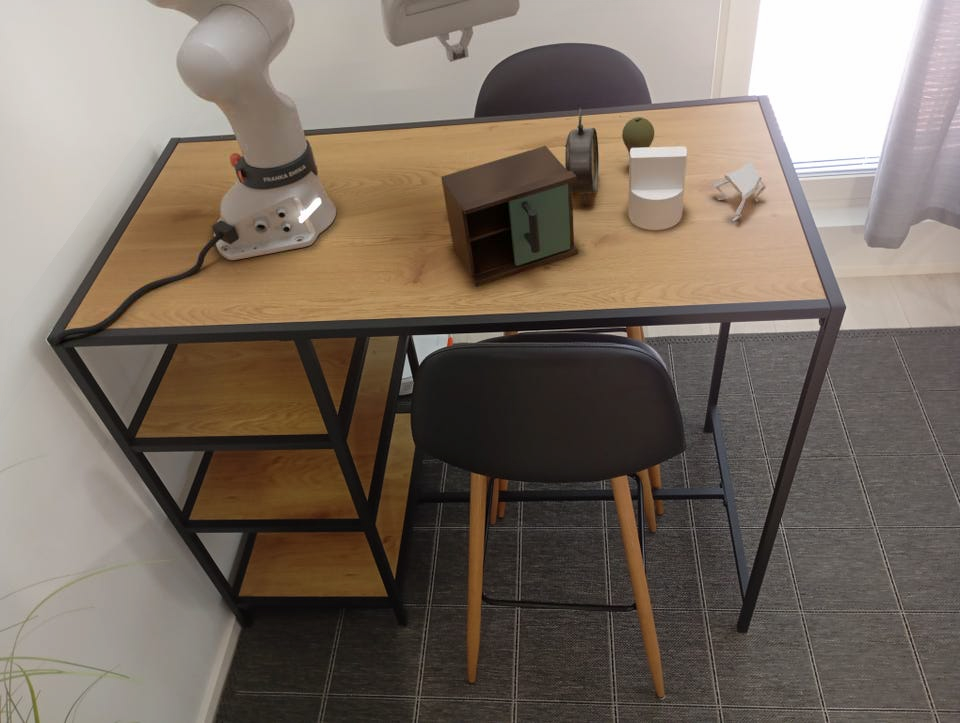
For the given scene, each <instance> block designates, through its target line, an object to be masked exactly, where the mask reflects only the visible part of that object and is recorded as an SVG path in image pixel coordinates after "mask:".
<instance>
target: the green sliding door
mask: <svg viewBox="0 0 960 723" xmlns="http://www.w3.org/2000/svg"><path fill="white" fill-rule="evenodd" d="M508 204H509V214H510V223H511V233H512V243H513V252H514V262H515V265H516V266H518V265H521V264H524V263H528V262H531V261H534V260H537V259H540V258H543V257H546V256H549V255H552V254H556V253H559V252H562V251H565V250H568V249H570V235H569V209H568V184H564V185H560V186H557V187H554V188H551V189H547V190H544V191H541V192H538V193H534V194H531V195H528V196H524V197H521V198H518V199H515V200H511V201H508Z"/></svg>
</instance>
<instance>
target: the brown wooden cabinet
mask: <svg viewBox="0 0 960 723" xmlns="http://www.w3.org/2000/svg"><path fill="white" fill-rule="evenodd" d="M440 178H441V185H442V190H443V196H444V202H445V208H446V214H447V219H448V225H449V232H450V237H451V238H450V239H451V243H452V248H453V249H454V252H455V253H456V255H457V257H458V258H459V260H460V262H461V263H462V265H463V267H464V269H465V270H466V272H467V274H468V275H469V277H470V279H471V281H472V282H473V284H474V286H475V287H479V286H481V285H484V284H488V283H491V282H495V281H497V280H500V279H503V278H506V277H509V276H512V275H516V274H518V273H519V274H520V273H521V272H525V271H528V270H531V269H534V268H537V267H540V266H541V267H542V266H544V265H547V264H550V263H553V262H557V261H559V260H562V259H565V258H568V257H572V256H575V255H577V254H579V249H578V247H577V246H576V244H575V234H574V209H573V208H574V207H573V206H574V205H573V204H574V202H573V192H572V182H574V181H576V175H575V174H574V173H573V172H572V171H569V172H568V171H567V169H566V166H564V165H563V163H562V162H561V161H560V160H559V159H558V158H557V157H556V155H555V154H554V153H553V152H552V151H551V150H550V149H549V147H548V146H547V145H543V146H539V147H537V148H533V149H530V150H526V151H523V152H520V153H516V154H513V155H509V156H506V157H504V158H499V159H496V160H493V161H489V162H486V163H483V164H478V165H476V166H473V167H468V168H466V169H461V170H458V171H455V172H452V173H449V174H445V175H442V176H440ZM564 184H568V209H569V235H570V249H568V250H565V251H562V252H559V253H556V254H552V255H549V256H546V257H543V258H540V259H537V260H534V261H531V262H528V263H524V264H521V265H518V266H516V265H515V262H514V252H513V243H512V233H511V223H510V214H509V204H508V201H511V200H515V199H518V198H521V197H524V196H528V195H531V194H534V193H538V192H541V191H544V190H547V189H551V188H554V187H557V186H560V185H564Z"/></svg>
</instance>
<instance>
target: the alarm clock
mask: <svg viewBox="0 0 960 723" xmlns="http://www.w3.org/2000/svg"><path fill="white" fill-rule="evenodd" d="M582 110H583V109H582V108H581V107H580V108H579V110H578V125H577V128H573V129H571V130H570V131H569V133H568V134H567V137H566V143H565V145H564V147H565V153H564V154H565V156H564V157H565V158H564V159H565V161H564V162H565V168H566V169H567V171H568V172H569V171H572V172H573V173H574V174H575V175H576V181H574V182H572V194H575V195H576V194H582V195H583V207H585V208H586V207H588V198H589V196H588V195H589V194H595V193H596V192H597V190H598V183H599V163H600V162H599V161H600V160H599V158H600V157H599V141H598V133H597V129H596V128H595V127H587V128H586V127H585V128H584V125H583V124H582V120H583V119H582V118H583V116H582Z"/></svg>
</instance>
